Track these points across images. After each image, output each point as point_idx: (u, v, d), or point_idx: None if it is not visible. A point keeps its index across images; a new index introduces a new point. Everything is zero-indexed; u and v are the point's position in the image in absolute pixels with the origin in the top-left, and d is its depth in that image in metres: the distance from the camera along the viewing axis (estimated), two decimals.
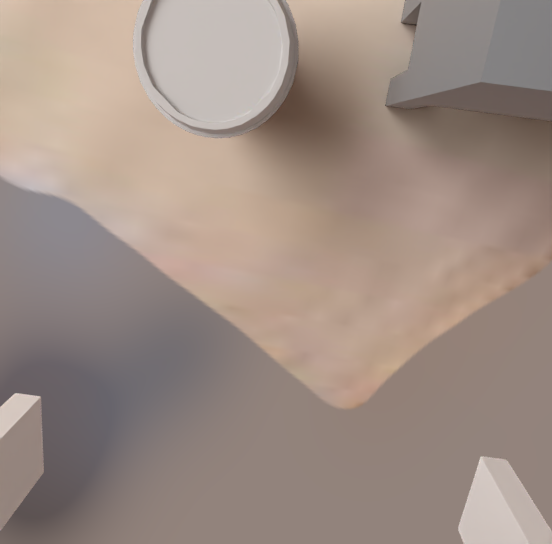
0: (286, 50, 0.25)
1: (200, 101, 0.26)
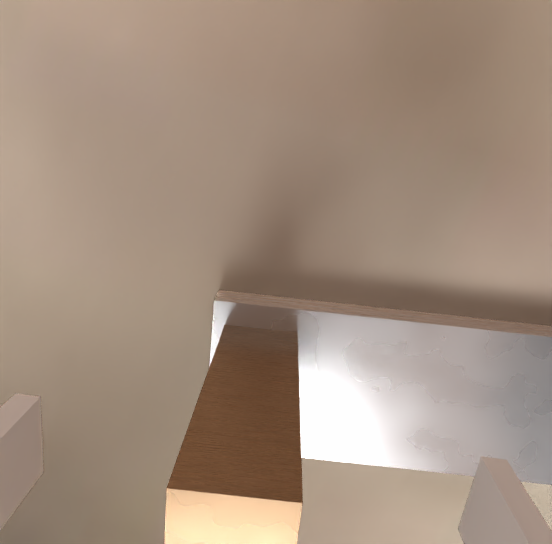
0: None
1: None
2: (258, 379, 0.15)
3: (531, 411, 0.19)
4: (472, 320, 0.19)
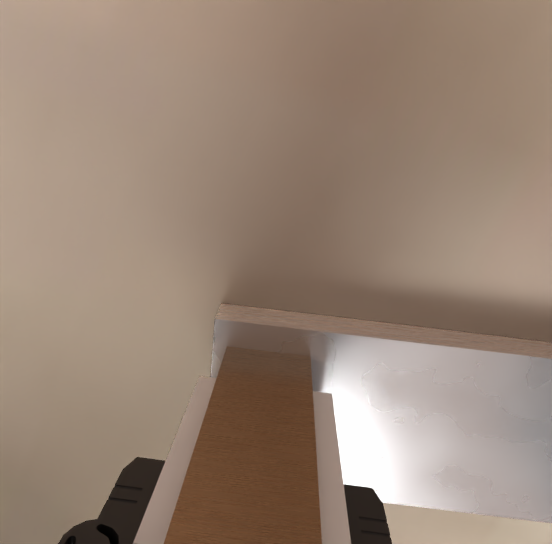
0: None
1: None
2: (266, 420, 0.12)
3: None
4: (510, 343, 0.17)
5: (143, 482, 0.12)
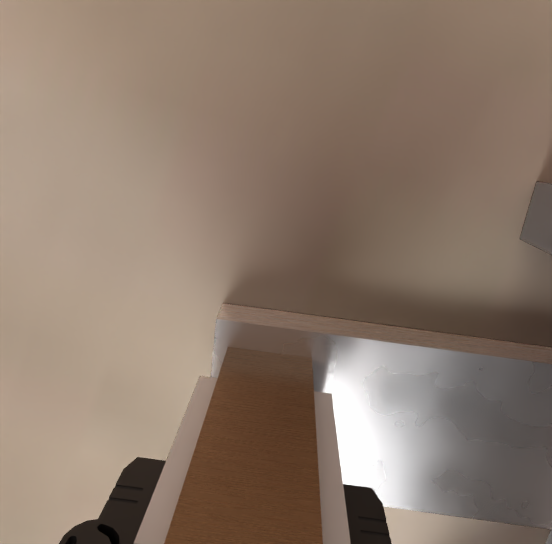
0: None
1: None
2: (267, 422, 0.12)
3: None
4: (513, 348, 0.17)
5: (144, 482, 0.12)
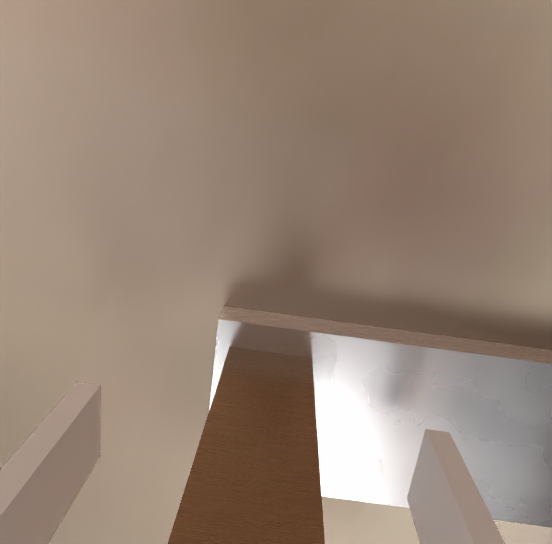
0: None
1: None
2: (269, 421, 0.13)
3: None
4: (510, 348, 0.17)
5: None
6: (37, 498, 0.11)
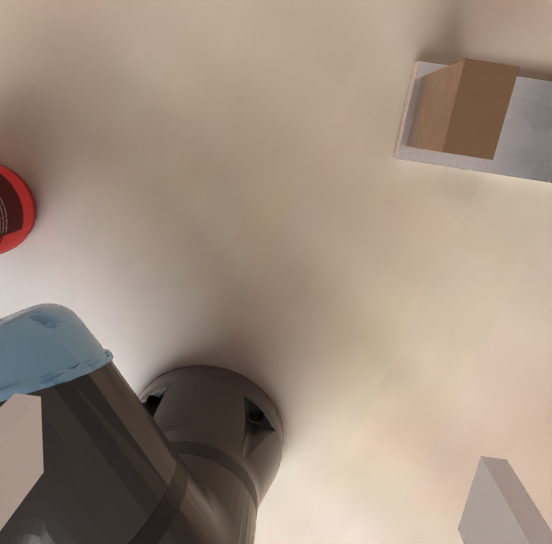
0: None
1: None
2: None
3: None
4: None
5: None
6: None
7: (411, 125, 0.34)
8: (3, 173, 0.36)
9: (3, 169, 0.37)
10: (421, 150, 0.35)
